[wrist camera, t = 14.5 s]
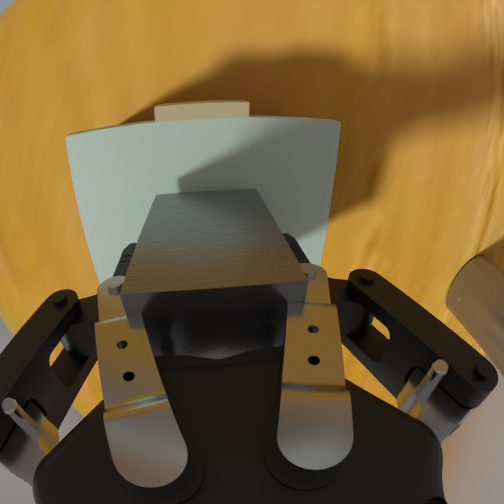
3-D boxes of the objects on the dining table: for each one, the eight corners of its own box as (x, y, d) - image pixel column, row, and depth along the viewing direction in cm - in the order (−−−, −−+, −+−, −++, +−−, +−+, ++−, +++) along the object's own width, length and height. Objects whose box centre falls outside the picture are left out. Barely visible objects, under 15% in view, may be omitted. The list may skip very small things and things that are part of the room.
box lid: (330, 105, 13) (343, 108, 12) (307, 280, 19) (315, 296, 18) (75, 117, 11) (62, 122, 10) (113, 294, 17) (108, 311, 16)
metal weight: (256, 188, 13) (308, 280, 7) (254, 272, 15) (289, 386, 9) (156, 194, 12) (119, 294, 6) (167, 278, 14) (157, 398, 8)
